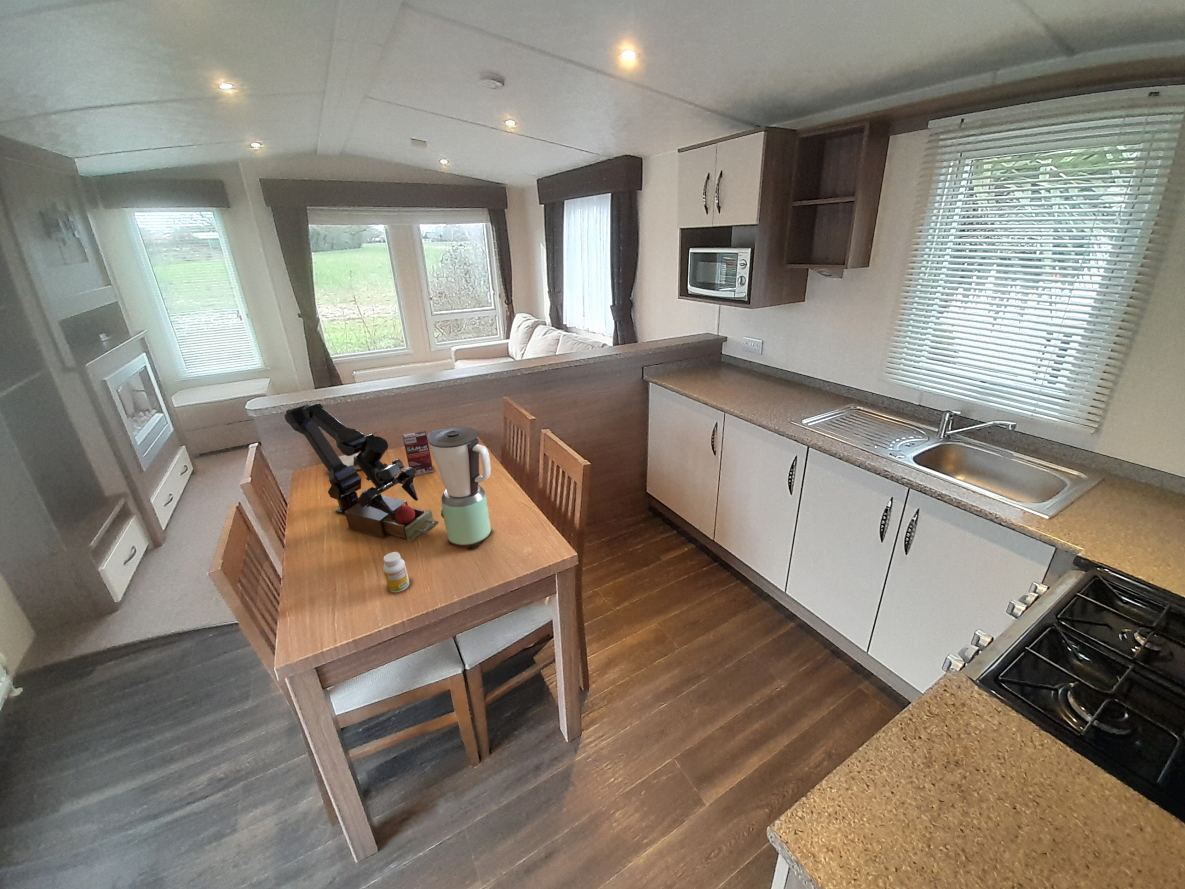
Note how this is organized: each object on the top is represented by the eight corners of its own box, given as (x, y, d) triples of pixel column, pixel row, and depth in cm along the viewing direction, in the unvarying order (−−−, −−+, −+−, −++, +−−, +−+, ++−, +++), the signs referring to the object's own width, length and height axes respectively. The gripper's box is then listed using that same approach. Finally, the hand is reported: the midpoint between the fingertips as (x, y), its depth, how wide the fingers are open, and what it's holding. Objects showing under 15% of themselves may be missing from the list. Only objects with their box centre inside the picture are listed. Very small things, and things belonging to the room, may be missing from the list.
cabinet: (410, 517, 157) (406, 501, 154) (383, 538, 147) (379, 520, 144) (377, 509, 162) (373, 493, 159) (349, 528, 152) (344, 511, 149)
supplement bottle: (391, 579, 129) (384, 550, 125) (412, 578, 130) (405, 549, 125) (385, 593, 124) (377, 564, 120) (406, 592, 125) (399, 562, 121)
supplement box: (410, 476, 182) (402, 439, 176) (409, 471, 186) (401, 434, 180) (434, 471, 185) (426, 434, 179) (432, 466, 189) (425, 430, 183)
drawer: (444, 525, 151) (442, 512, 149) (421, 544, 142) (418, 531, 140) (401, 514, 157) (398, 502, 155) (376, 532, 148) (373, 519, 146)
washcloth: (330, 462, 195) (328, 456, 194) (377, 455, 201) (375, 448, 199) (326, 475, 185) (324, 468, 184) (376, 467, 191) (374, 460, 189)
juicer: (433, 544, 143) (411, 438, 128) (460, 520, 154) (443, 420, 139) (487, 557, 137) (470, 448, 122) (511, 531, 148) (498, 428, 133)
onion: (416, 528, 148) (411, 506, 144) (397, 532, 146) (391, 510, 143) (417, 518, 153) (412, 497, 149) (398, 522, 151) (393, 500, 148)
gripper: (354, 468, 134) (389, 511, 133) (406, 443, 148) (438, 481, 148) (343, 486, 141) (377, 527, 140) (394, 460, 155) (424, 497, 155)
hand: (405, 507), depth 146 cm, fingers open, 9 cm apart
